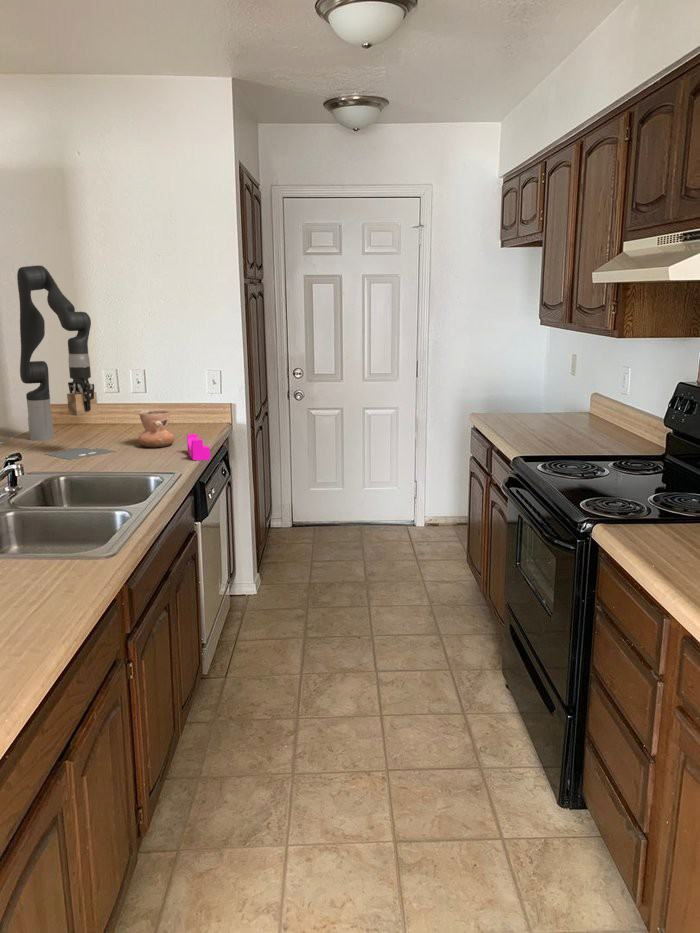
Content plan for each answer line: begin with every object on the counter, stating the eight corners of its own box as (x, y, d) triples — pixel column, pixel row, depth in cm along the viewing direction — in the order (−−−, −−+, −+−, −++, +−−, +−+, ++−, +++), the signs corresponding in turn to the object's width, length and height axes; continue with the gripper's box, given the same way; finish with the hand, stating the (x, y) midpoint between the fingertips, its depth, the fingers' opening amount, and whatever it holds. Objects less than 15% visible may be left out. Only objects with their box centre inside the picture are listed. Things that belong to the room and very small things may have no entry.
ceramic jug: (178, 448, 298) (176, 413, 295) (141, 451, 293) (139, 415, 290) (170, 441, 314) (168, 407, 311) (135, 443, 309) (133, 409, 306)
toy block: (210, 459, 277) (209, 439, 276) (193, 460, 275) (192, 440, 274) (203, 452, 291) (203, 433, 289) (187, 453, 289) (186, 434, 287)
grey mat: (44, 454, 287) (44, 454, 287) (90, 446, 302) (90, 446, 302) (69, 459, 277) (69, 459, 277) (115, 451, 292) (115, 451, 292)
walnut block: (68, 414, 282) (66, 393, 280) (89, 411, 289) (87, 391, 287) (77, 415, 279) (75, 394, 277) (97, 413, 286) (96, 392, 284)
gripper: (59, 365, 281) (63, 409, 285) (81, 367, 273) (85, 412, 276) (77, 364, 287) (81, 407, 291) (99, 365, 279) (102, 410, 282)
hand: (83, 409), depth 284 cm, fingers closed on walnut block, 5 cm apart
